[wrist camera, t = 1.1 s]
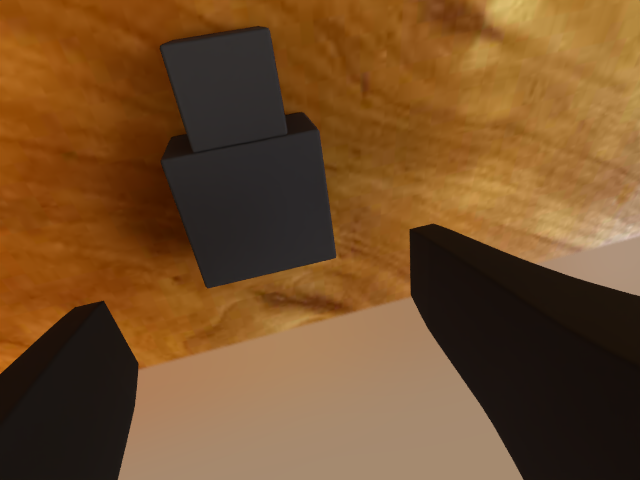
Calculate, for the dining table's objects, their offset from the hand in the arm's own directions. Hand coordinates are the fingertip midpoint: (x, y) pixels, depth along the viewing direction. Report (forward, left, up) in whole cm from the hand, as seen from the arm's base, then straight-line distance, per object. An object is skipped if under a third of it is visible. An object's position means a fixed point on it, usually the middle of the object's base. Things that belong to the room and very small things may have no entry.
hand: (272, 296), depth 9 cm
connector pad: (+1, +1, -8) cm, 8 cm away
